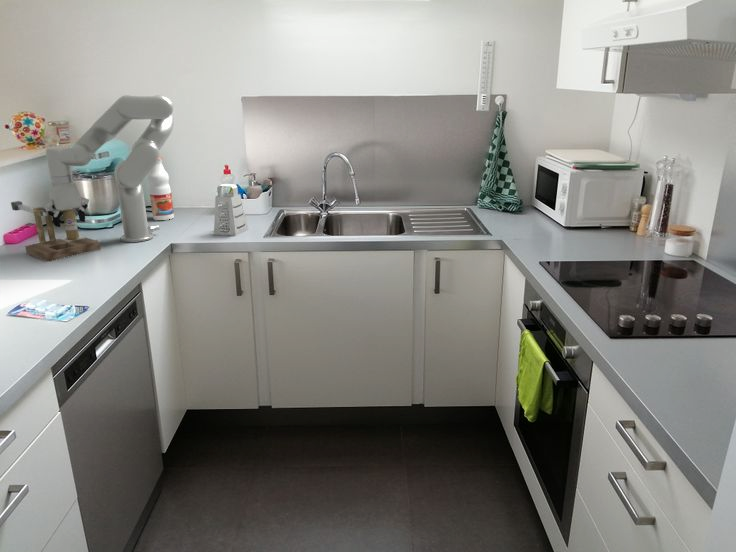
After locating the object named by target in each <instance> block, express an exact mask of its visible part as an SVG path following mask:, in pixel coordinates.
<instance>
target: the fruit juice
mask: <svg viewBox="0 0 736 552" xmlns="http://www.w3.org/2000/svg"><path fill="white" fill-rule="evenodd" d="M147 180H148V184H149V190H148V191H149V197H150V206H151V213H152V219H153V220H154V221H157V220H165V221H170V220H172V218H173V219H174V218H175V213H174V205H173V204H174V203H173V196H172V189H171V186H170V184H169V183H170V182H169V181H170V175H169V173H168V172H167V171H166V170H165V167H164V165H163V158H162V157H160V156H159V159H158V161H157V163H156V164H155V166H154V167H153V168H152V170H151V171H150V172H149V174H148V175H147ZM169 219H170V220H169Z"/></svg>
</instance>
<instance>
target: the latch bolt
mask: <svg viewBox="0 0 736 552" xmlns="http://www.w3.org/2000/svg"><path fill="white" fill-rule="evenodd" d="M10 205H11V210H12V211H24V212H28V213H32V214H34V212H33V208H34V207H32V206H29V205H26V204H23V201H20V200H18V201H11V202H10ZM40 214H41V217H45V216H48V214H47V212H46V211H44V210H43V211H40Z"/></svg>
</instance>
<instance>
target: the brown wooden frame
mask: <svg viewBox="0 0 736 552" xmlns="http://www.w3.org/2000/svg"><path fill="white" fill-rule="evenodd" d="M49 209H50V210H51V207H49ZM43 210H44V209H43V206H40V207H39V206H38V207H33V212H34V213H33V216H34V221H35V226H36V230H37V236H38V241H39V242H38V243H33V244H29V245H25V247H24V248H25V252H26V254H27V255H29V256H31V255H32V256H31V257H34V258H37V259H39V260H42V261H44V260H45V261H44V262H48V261H49V262H53V261H56V259H57V260H60V258H61V259H64V257H65V258H68V256H69V257H73V256H77V254H78V255H81V253H82V254H84V253H85V252H86V253H90V252H94V251H97V250H101V246H100V241H99V240H95V239H91V238H89V237H87V236H84V235H83V236H82V235H79V237H78V238H75V239H68V238H67V236H64V237H59V238H56V233H55V228H54V223H53V218H52V216H51V215H49V214H48V213H47V214H48V216H44V218H45V219H44V220H45V224H46V228H47V229H46V230H47V233H48V240H47V239H46V234H45V230H44V225H43V220H42V216H41V214H40V211H43ZM44 211H45V210H44ZM86 253H85V254H86ZM72 255H73V256H72ZM52 260H53V261H52Z"/></svg>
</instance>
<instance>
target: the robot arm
mask: <svg viewBox="0 0 736 552" xmlns="http://www.w3.org/2000/svg"><path fill="white" fill-rule="evenodd" d="M133 120H150V121H149V124H148V125H147V126H146V128H145V130H144V131H143V132H142V134H141V135H140V137H138V139H137V140H136V141H135V142H134V143H133V145H132V147H131V152H130V153H129V155H128V156H127V157H126V159H125V160H121V161H119V162H118V163H117V164H116V166H115V167H114V171H113V175H114V179H115V185H116V191H117V197H118V202H119V203H118V204H119V209H120V217H121V224H122V229H123V235H122V236H120V241H122V242H123V243H140V242H145V241H149V240H152V239H153V238H154V233H153V232H156V231H159V230H160V226H159V225H148V216H147V210H146V209H147V207H146V201H145V194H144V189H143V188H144V187H143V182H144V180H145V179H146V177H148V175H149V173H150V171H151V170H152V168H153V167H154V166H155V164H156V163H157V161H158V159H159V157H160V150H161V149H162V147H163V146H164V144H165V143H166V141H167V140H168V139H169V137H170V136H171V134H172V132H173V128H174V122H175V121H174V120H175V118H174V105H173V102H172V101H171V99H169V98H168V97H166V96H163V95H161V94H158V95H157V94H156V95H145V96H144V95H141V96H138V95H127V94H125V95H121V96H120V97H119V98H118V99H117V100H115V102H114V103H113V104H112V105H111V106H109V108H108V109H107V110H106V111H105V112H104V113H103V114H102V115H101V116H100V117H99V118H98V119H96V121H95V122H94V123H93V124H92V126H91V127H90V128H89V129H87V131H86V132H85V133H84V134H82V136H80V137H79V139H78V140H76V142H75V143H73V144H72V146H71V147H65V146H51V147H47V148H46V149H45V156H46V160H47V166H48V171H49V172H48V173H49V175H50V177H49V178H50V181H51V182H50V183H51V184H49V186H48V187H49V190H48V191H49V192H48V193H49V202H47V203H46V204H45V205H44V206H42V207H43V209H44V210H45V211H46V212H47V213H48V214H49V215H51V217H52V223H53V226H55V227H57V228H60V227H61V222H60V217H59V216H58V215H59V213H60V212H62V211H65V210H68V209H70V208H72V209H74V210H75V209H77V210H78V211H77V214H78V220H79V222H82V223H85V222H86V215H85V212H86V210H87V208H88V206H89V203H90V199H89V198H86V197H84V196H81V195H80V192H79V188H78V186H77V183H76V182H75V179H77V175H75V174H73V171H72V167H85V166H87V165H88V164H89V163H90V162H91V161H92V157H93V156H94V154H96V153H97V152H98V151H99V149H101V148H102V147H103V146H104V145H105V144H107V142H110V141H112V140H113V139H115V138H116V137H117V136H118V135H119V134H120V133H121V132H122V131H123V130H124V129H125V128H126V127H127V125H129V124H130V123H131V122H132V121H133ZM82 202H83V204H82ZM49 207H50V209H49Z"/></svg>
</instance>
